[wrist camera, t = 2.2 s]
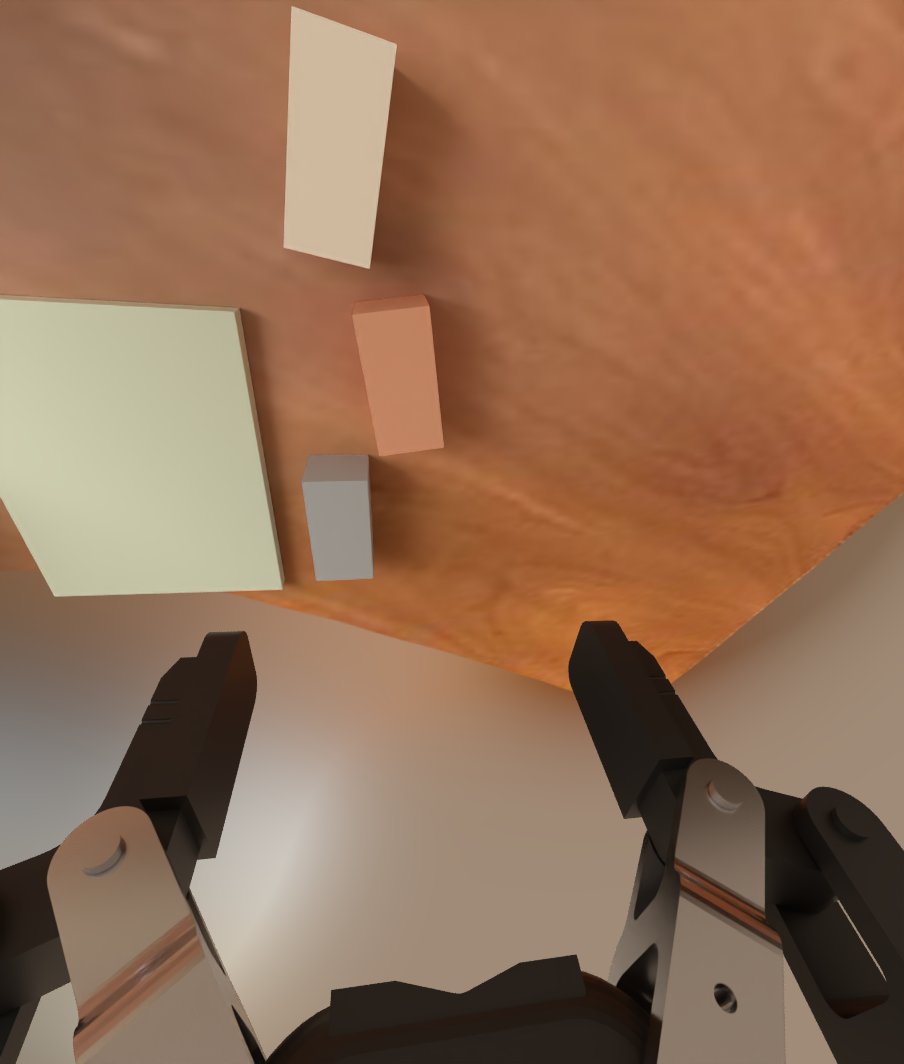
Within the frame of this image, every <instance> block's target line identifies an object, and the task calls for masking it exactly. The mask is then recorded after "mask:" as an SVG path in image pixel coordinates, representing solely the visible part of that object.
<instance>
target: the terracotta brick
mask: <svg viewBox="0 0 904 1064" xmlns="http://www.w3.org/2000/svg"><path fill="white" fill-rule="evenodd" d="M352 318H353V324H354V329H355V334H356V339H357V344H358V350H359V355H360V360H361V365H362V370H363V375H364V381H365V386H366V391H367V396H368V401H369V407H370V412H371V417H372V422H373V427H374V433H375V438H376V443H377V448H378V453H379V456H386V455H394V454H401V453H409V452H416V451H424V450H431V449H438V448H444V443H443V433H442V423H441V413H440V404H439V394H438V384H437V374H436V365H435V355H434V345H433V335H432V326H431V316H430V306H429V304H428V302H427V300H426V298H425V296H424V294H421V295H413V296H404V297H395V298H386V299H378V300H369V301H360V302H355V303H354V308H353V312H352Z"/></svg>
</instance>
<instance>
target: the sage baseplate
mask: <svg viewBox="0 0 904 1064" xmlns="http://www.w3.org/2000/svg"><path fill="white" fill-rule="evenodd" d="M0 497H1V499H2V501H3V503H4V504H5V506H6V508H7V510H8V512H9V514H10V516H11V517H12V519H13V521H14V523H15V525H16V527H17V528H18V530H19V532H20V534H21V536H22V538H23V539H24V541H25V543H26V545H27V547H28V549H29V550H30V552H31V554H32V556H33V558H34V560H35V561H36V563H37V565H38V567H39V569H40V571H41V572H42V574H43V576H44V578H45V580H46V582H47V584H48V585H49V587H50V589H51V591H52V593H53V595H54V596H55V597H56V596H89V595H121V594H122V595H123V594H155V593H189V592H221V591H254V590H282V589H283V585H284V581H285V577H284V571H283V565H282V559H281V553H280V548H279V542H278V536H277V530H276V524H275V518H274V512H273V506H272V500H271V494H270V488H269V482H268V476H267V470H266V464H265V458H264V452H263V446H262V440H261V434H260V428H259V422H258V416H257V410H256V404H255V398H254V392H253V386H252V380H251V374H250V368H249V362H248V356H247V350H246V344H245V338H244V332H243V326H242V320H241V314H240V308H233V307H215V306H197V305H178V304H160V303H142V302H123V301H105V300H87V299H68V298H50V297H32V296H14V295H0Z"/></svg>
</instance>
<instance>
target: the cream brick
mask: <svg viewBox="0 0 904 1064" xmlns="http://www.w3.org/2000/svg"><path fill="white" fill-rule="evenodd" d="M396 48H397V44H395V43H392V42H389V41H387V40H384V39H381V38H378V37H376V36H373V35H370V34H367V33H365V32H362V31H359V30H357V29H354V28H351V27H348V26H346V25H343V24H340V23H337V22H335V21H332V20H329V19H326V18H324V17H321V16H318V15H315V14H313V13H310V12H307V11H304V10H302V9H299V8H296V7H294V6H292V8H291V39H290V69H289V99H288V130H287V160H286V191H285V221H284V248H287V249H291V250H295V251H299V252H303V253H307V254H311V255H316V256H320V257H324V258H328V259H332V260H336V261H340V262H344V263H348V264H352V265H356V266H360V267H364V268H368V269H370V263H371V254H372V246H373V238H374V230H375V221H376V213H377V205H378V197H379V189H380V180H381V172H382V164H383V156H384V147H385V139H386V131H387V123H388V114H389V106H390V98H391V90H392V81H393V73H394V65H395V57H396Z"/></svg>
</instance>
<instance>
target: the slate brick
mask: <svg viewBox="0 0 904 1064" xmlns="http://www.w3.org/2000/svg"><path fill="white" fill-rule="evenodd" d="M302 487H303V494H304V501H305V508H306V514H307V521H308V528H309V535H310V541H311V548H312V555H313V562H314V568H315V575H316V581H330V580H351V579H373V550H374V547H373V528H372V510H371V492H370V474H369V456H368V455H309V457H308V460H307V464H306V468H305V471H304V475H303V479H302Z"/></svg>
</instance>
